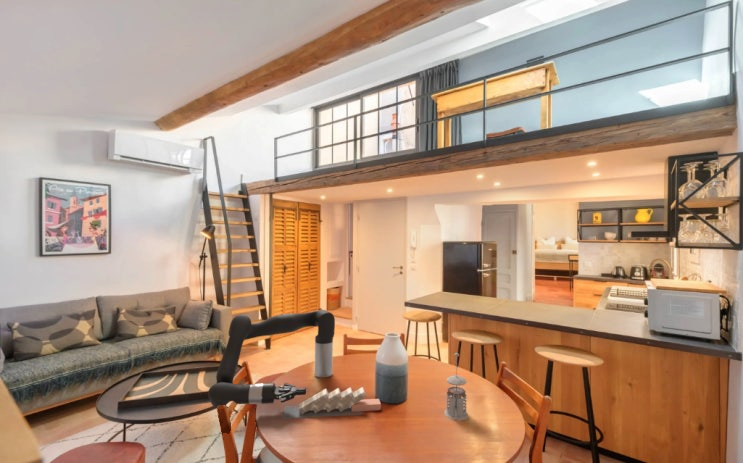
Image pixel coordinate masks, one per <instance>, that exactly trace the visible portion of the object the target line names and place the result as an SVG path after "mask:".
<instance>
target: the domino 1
mask: <svg viewBox="0 0 743 463" xmlns="http://www.w3.org/2000/svg"><path fill="white" fill-rule="evenodd" d="M329 393H330V392H329V391H328V389H327V388H324V389H322V390H321V391H320V392H318V393H316V394H314V395H312V396H311V397H309V398H307V399H306V400H303V401H302V402H300V403H299V406H300V408H299V410H300V411H301V413H302V414H304V413H305V412H307V411H309V410H310V409H312V408H314V407H316V406H317V405H319V404H321V403H322V402H324V401H326V400H328V399H329Z"/></svg>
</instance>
